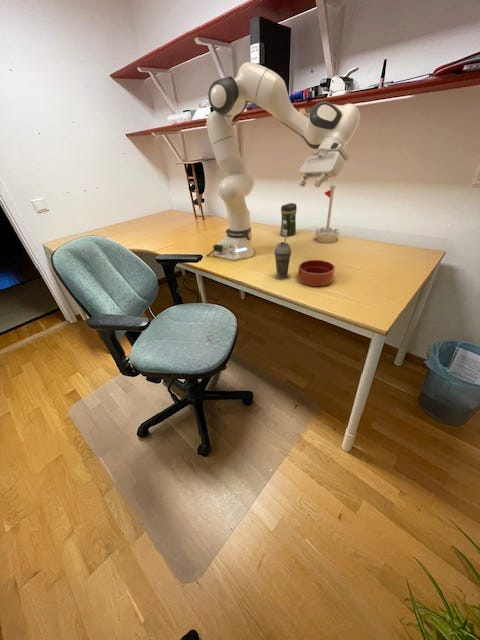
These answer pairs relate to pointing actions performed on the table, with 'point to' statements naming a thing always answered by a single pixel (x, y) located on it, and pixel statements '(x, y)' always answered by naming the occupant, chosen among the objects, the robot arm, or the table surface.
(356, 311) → the table surface
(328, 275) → the bowl
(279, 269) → the beverage cup
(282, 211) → the coffee jar
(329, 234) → the flag stand
